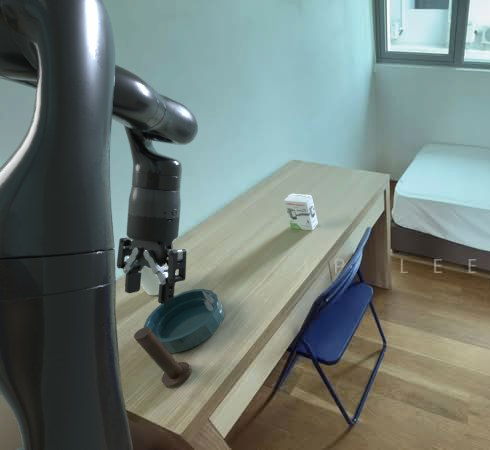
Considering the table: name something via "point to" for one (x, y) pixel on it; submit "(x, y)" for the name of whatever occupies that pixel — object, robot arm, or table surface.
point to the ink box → (301, 211)
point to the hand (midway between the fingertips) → (148, 297)
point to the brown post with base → (163, 359)
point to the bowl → (186, 319)
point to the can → (150, 281)
